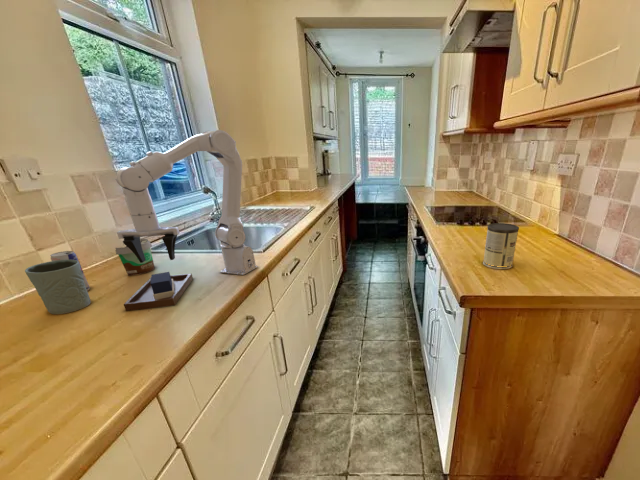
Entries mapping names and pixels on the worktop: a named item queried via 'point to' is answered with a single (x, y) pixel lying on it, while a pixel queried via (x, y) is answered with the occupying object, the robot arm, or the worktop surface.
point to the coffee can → (500, 245)
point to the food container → (136, 259)
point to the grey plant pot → (60, 285)
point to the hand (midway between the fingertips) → (158, 260)
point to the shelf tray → (146, 299)
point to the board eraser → (162, 285)
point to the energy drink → (68, 256)
